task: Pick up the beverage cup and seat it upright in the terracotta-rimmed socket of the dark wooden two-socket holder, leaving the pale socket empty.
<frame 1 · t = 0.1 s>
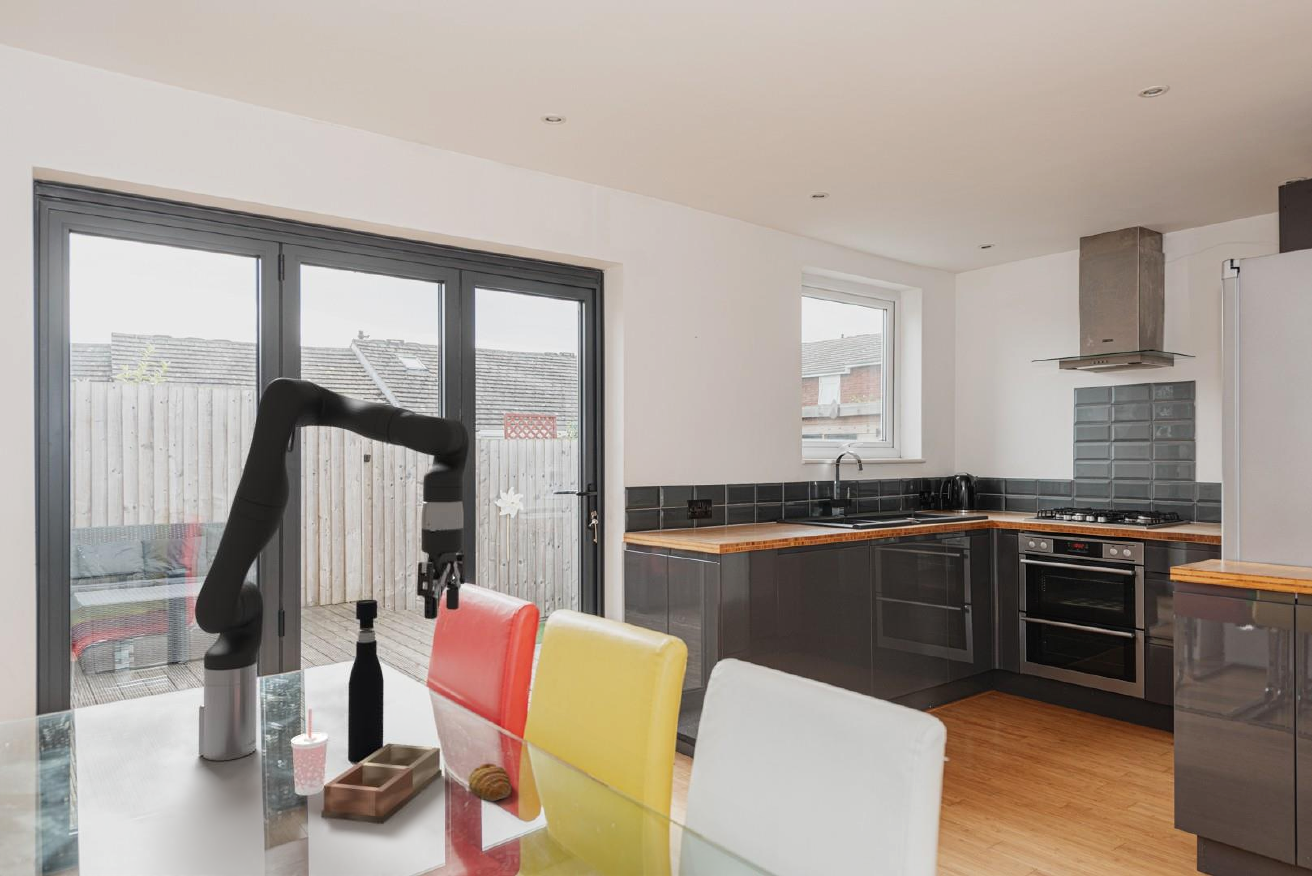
hand: (441, 613, 153), 29 cm above the table, tool pointing down, fingers open, 8 cm apart
pastry: (491, 792, 145), on the table
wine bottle: (365, 757, 160), on the table
cup holder: (385, 794, 143), on the table
beverage cup: (309, 791, 145), on the table
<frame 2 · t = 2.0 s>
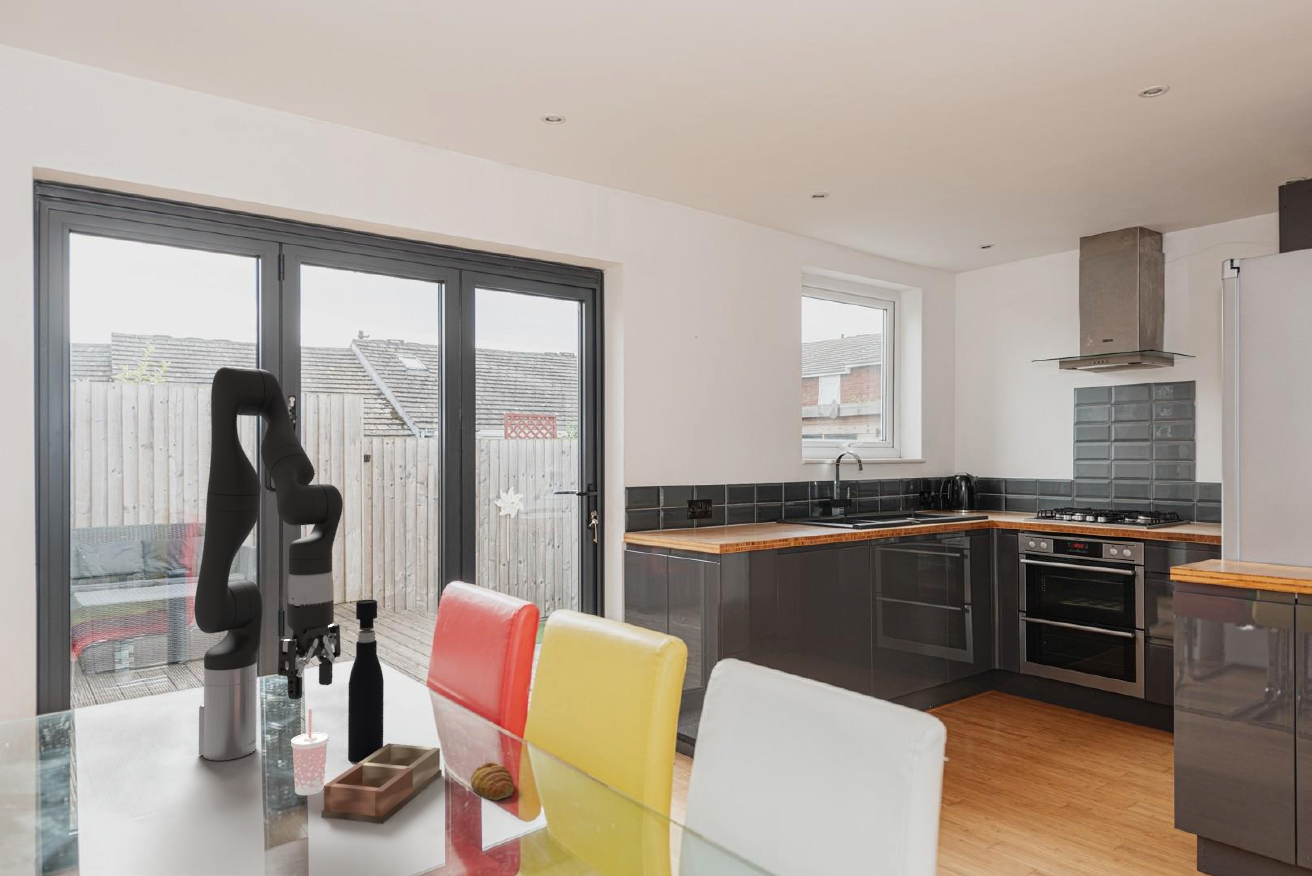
hand: (310, 691, 145), 17 cm above the table, tool pointing down, fingers open, 8 cm apart
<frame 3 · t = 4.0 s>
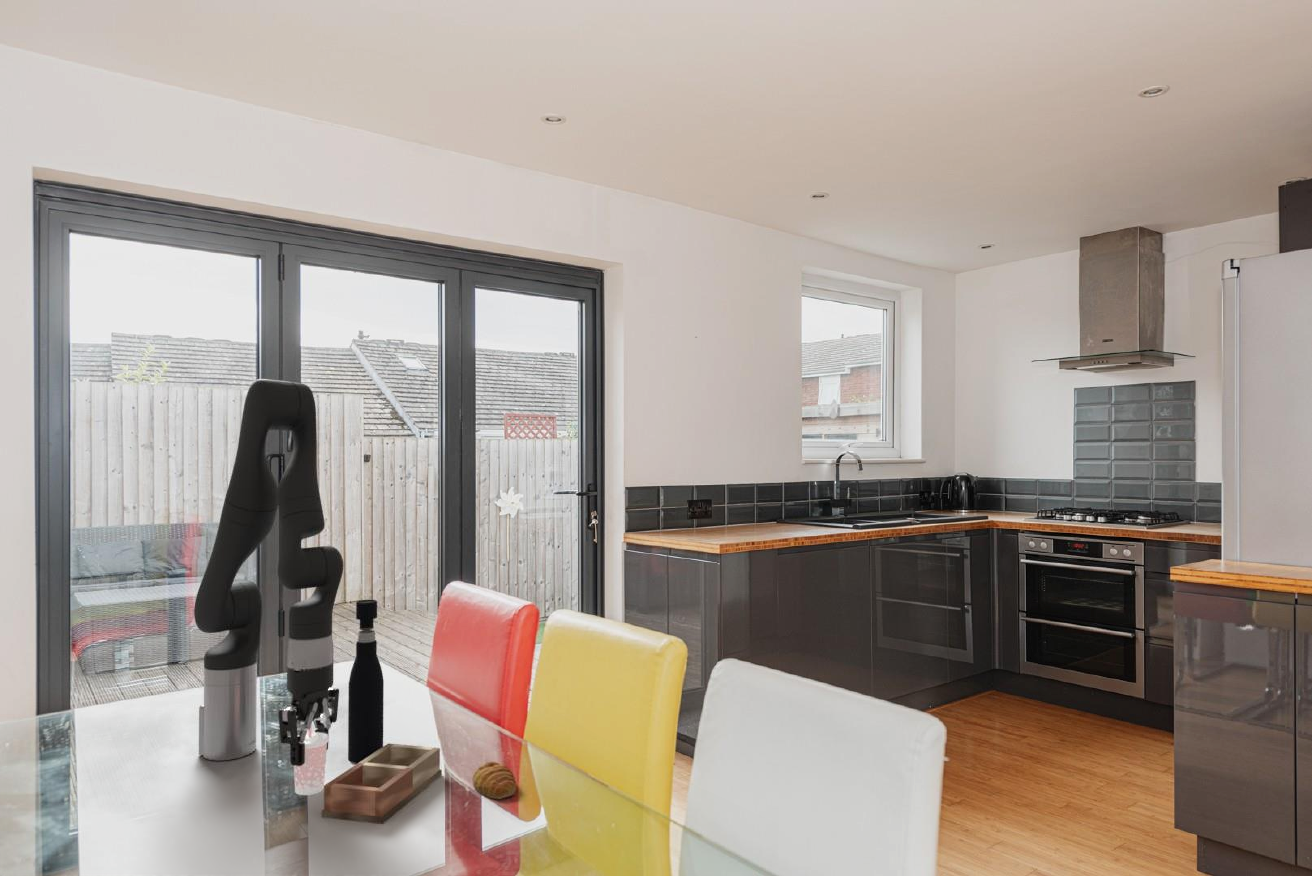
hand: (309, 757, 145), 6 cm above the table, tool pointing down, fingers closed on beverage cup, 6 cm apart
beverage cup: (309, 790, 145), on the table, touching gripper
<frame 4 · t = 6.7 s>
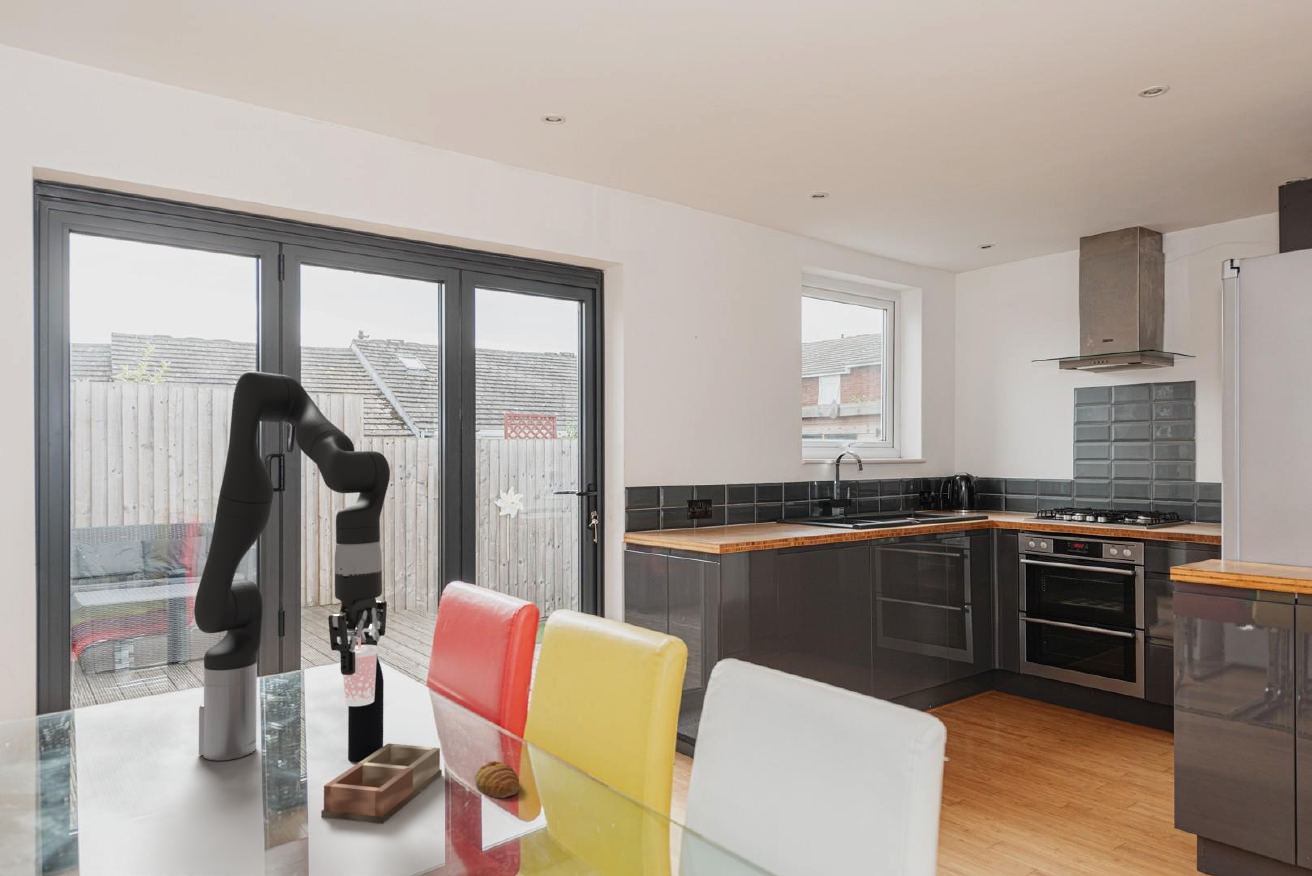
hand: (359, 668, 139), 23 cm above the table, tool pointing down, fingers closed on beverage cup, 6 cm apart
beverage cup: (359, 703, 139), point 17 cm above the table, touching gripper
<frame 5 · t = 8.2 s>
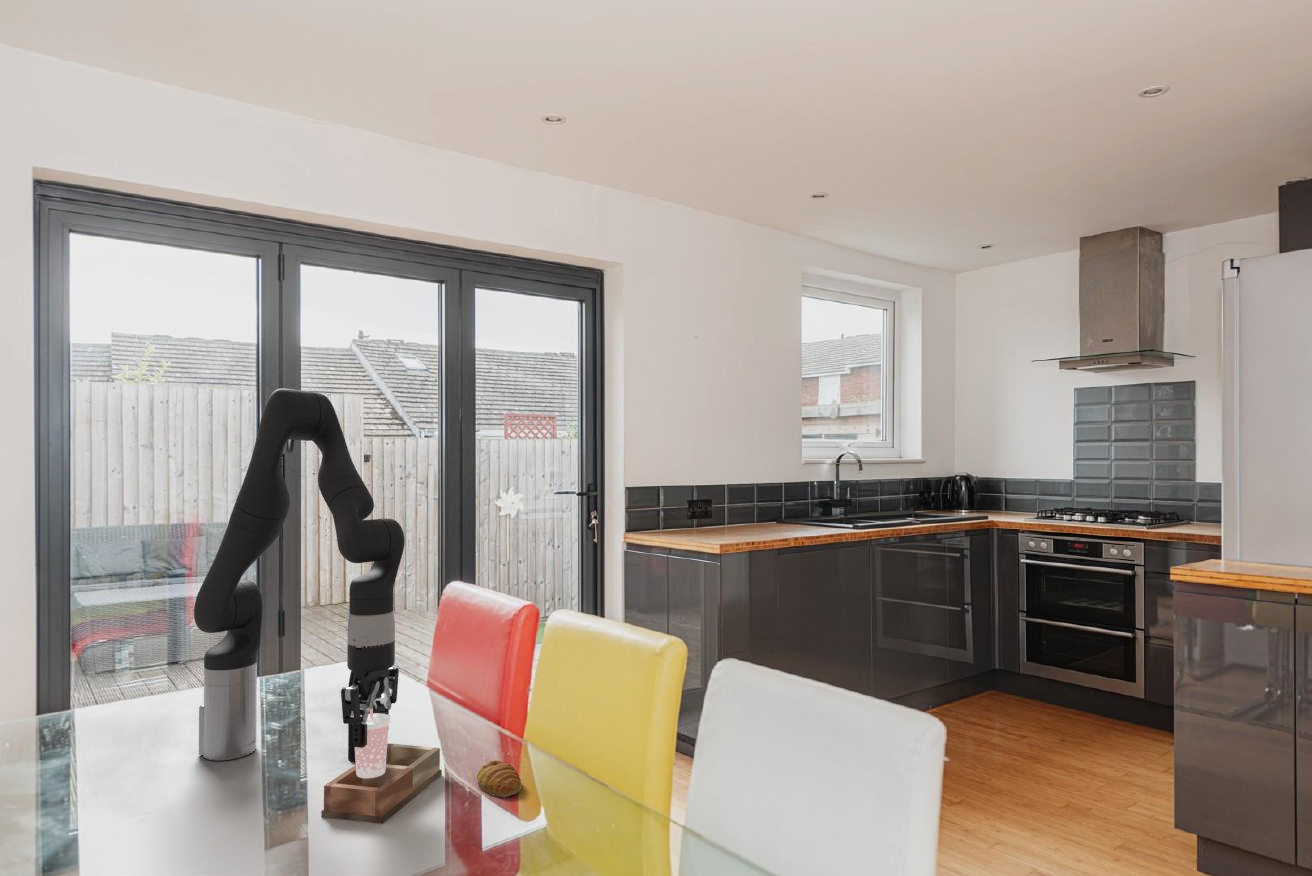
hand: (370, 739, 138), 11 cm above the table, tool pointing down, fingers closed on beverage cup, 6 cm apart
beverage cup: (370, 774, 138), point 5 cm above the table, touching gripper
when the fingers open (8 cm above the table, at t = 9.4 s): beverage cup drops 1 cm, resting on cup holder.
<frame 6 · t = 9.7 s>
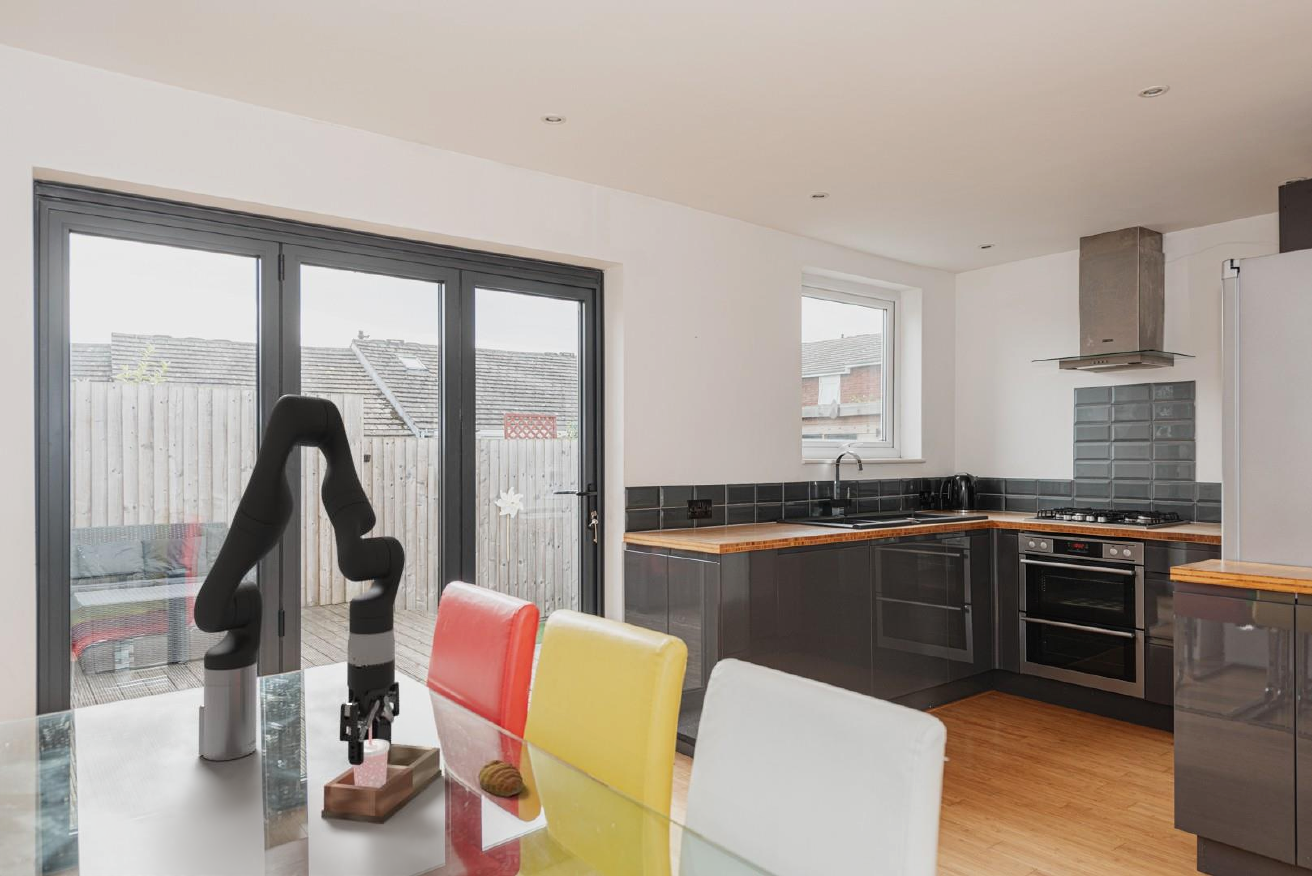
hand: (370, 754, 138), 9 cm above the table, tool pointing down, fingers open, 8 cm apart
beverage cup: (370, 800, 138), point 1 cm above the table, touching cup holder
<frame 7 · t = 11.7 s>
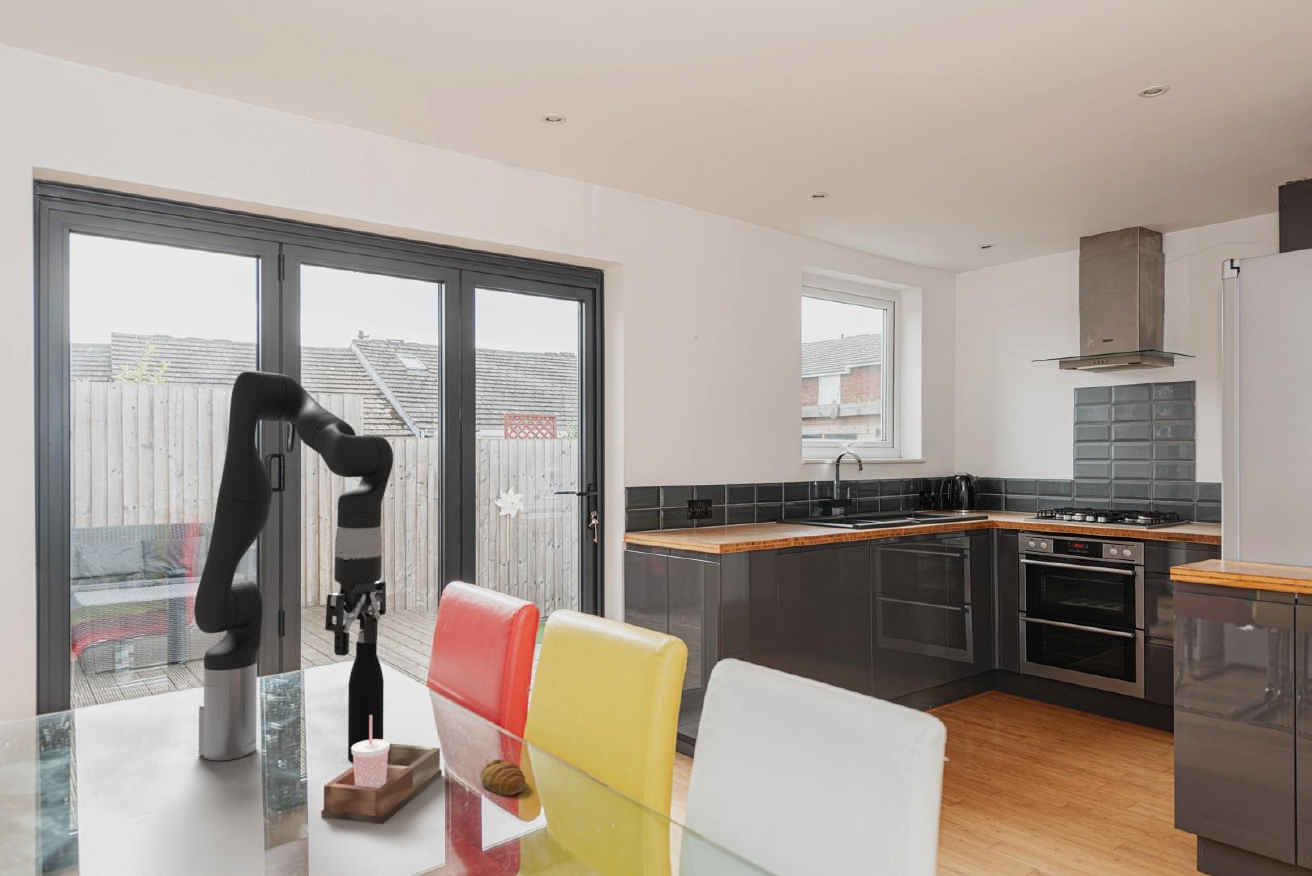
hand: (356, 648, 140), 26 cm above the table, tool pointing down, fingers open, 8 cm apart
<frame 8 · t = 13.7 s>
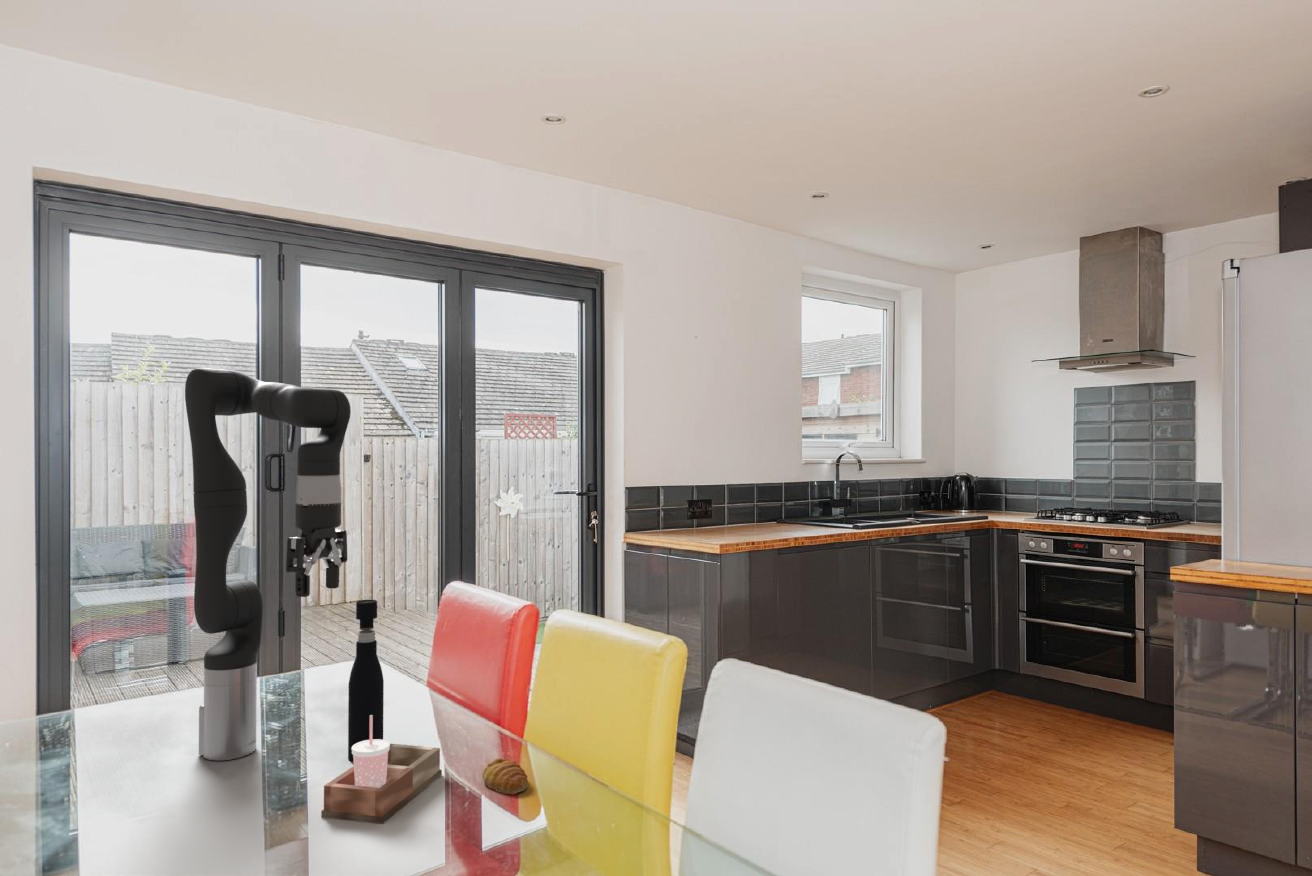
hand: (317, 592, 147), 34 cm above the table, tool pointing down, fingers open, 8 cm apart
at the end: beverage cup 0.2 cm from the target spot on the cup holder, point 0.8 cm above the cup holder's base; beverage cup tilted 0°; the gripper is holding nothing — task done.
